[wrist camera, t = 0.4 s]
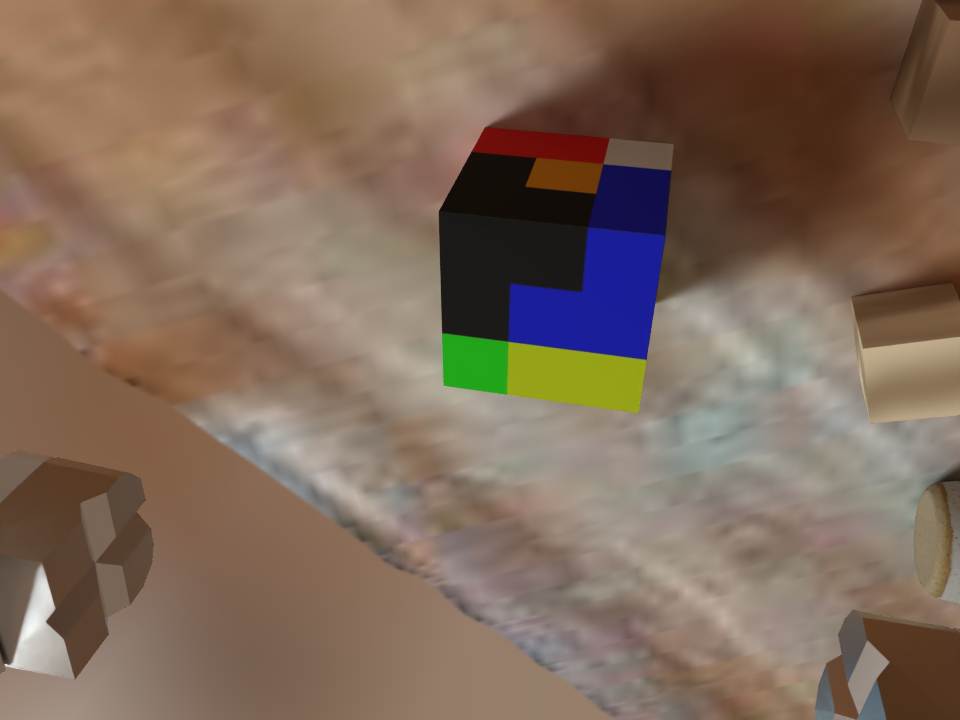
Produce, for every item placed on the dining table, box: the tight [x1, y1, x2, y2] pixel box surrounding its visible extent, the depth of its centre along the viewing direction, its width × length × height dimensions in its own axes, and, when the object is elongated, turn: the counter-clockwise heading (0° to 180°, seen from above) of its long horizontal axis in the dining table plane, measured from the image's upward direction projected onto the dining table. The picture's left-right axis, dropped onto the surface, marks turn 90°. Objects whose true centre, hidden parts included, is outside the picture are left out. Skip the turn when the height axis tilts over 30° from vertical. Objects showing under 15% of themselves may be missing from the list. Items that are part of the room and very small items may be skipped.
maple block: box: [851, 283, 960, 423], centre depth 46 cm, size 5×5×5 cm
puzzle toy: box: [439, 127, 674, 413], centre depth 44 cm, size 10×10×10 cm
